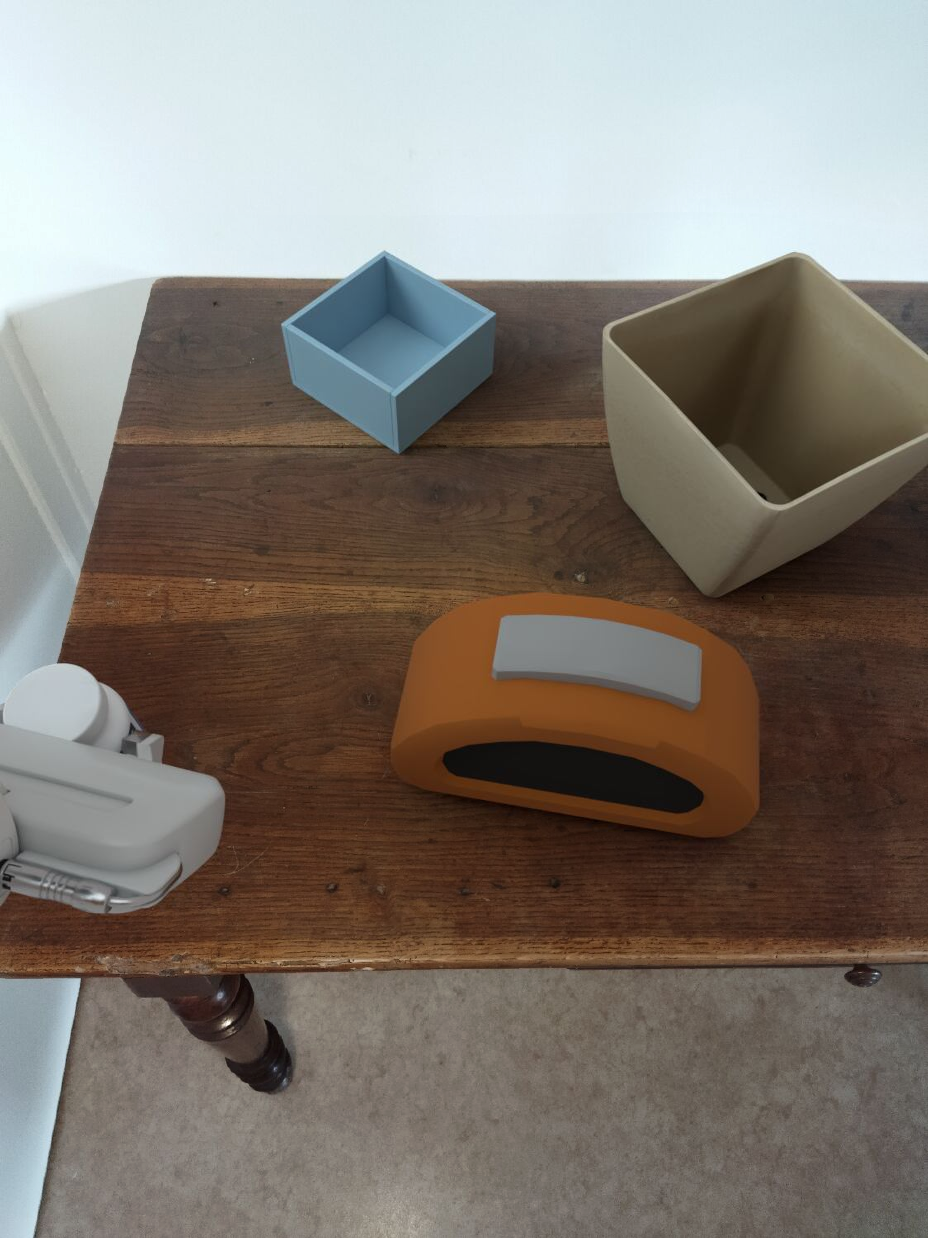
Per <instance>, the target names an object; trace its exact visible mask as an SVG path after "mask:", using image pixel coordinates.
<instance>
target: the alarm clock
mask: <svg viewBox="0 0 928 1238" xmlns="http://www.w3.org/2000/svg"><path fill="white" fill-rule="evenodd" d="M406 672H407V673H406V677H405V680H404V685H403V690H402V693H401V697H400V701H399V702H400V703H399V706H398V711H397V715H396V718H395V724H394V727H393V731H392V732H393V733H392V737H391V740H390V763H391V767H392V768H393V770H394V772H395V774H396V775H397V777H398V778H399V779H401V780H402V781H404V782H406V783H408V784H409V785H412V786H414V787H417V788H418V789H422V790H424V791H431V792H434V793H435V792H436V793H441V794H447V795H453V796H459V797H465V798H470V799H476V800H482V801H488V802H494V803H500V804H505V805H506V804H507V805H510V806H517V807H521V808H529V809H535V810H541V811H546V812H551V813H557V814H562V815H570V816H574V817H580V818H587V819H591V820H598V821H602V822H609V823H615V824H621V825H626V826H627V825H628V826H633V827H639V828H644V829H650V830H657V831H661V832H666V833H667V832H668V833H674V834H677V835H678V834H679V835H685V836H690V837H697V838H703V839H704V838H723V837H728V836H732V835H734V834H735V833H737V832H739V831H741V830H742V829H744V828H745V827H747V826H748V825H749V824H750V822H751V820H752V819H754V817H755V815H756V814H757V812H758V811H759V809H760V697H759V693H758V691H757V687H756V685H755V681H754V678H753V675H752V670H751V668H750V667H749V665H748V664H747V663H746V662H745V660H744V659H743V658H742V656H741V655H740V654H739V652H738V650H737V649H736V648H735V647H734V646H732V645H730V644H729V643H728V642H726V641H724V640H723V639H721V638H720V637H718V636H717V635H715V634H713V633H712V632H711V631H709V630H708V629H706V628H703V627H701V626H699V625H697V624H695V623H693V622H691V621H688V620H687V619H684V618H682V617H680V616H678V615H676V614H673V613H671V612H669V611H665V610H661V609H655V608H651V607H646V606H642V605H638V604H637V605H636V604H633V603H628V602H623V601H619V600H615V599H609V598H606V597H605V598H604V597H595V596H584V595H583V596H582V595H574V594H573V595H572V594H565V593H563V594H562V593H552V592H542V591H541V592H540V591H535V592H527V593H519V594H509V595H501V596H494V597H490V598H484V599H481V600H476V601H472V602H468V603H463V604H460V605H459V606H457V607H455V608H453V609H451V610H449V611H448V612H446V613H445V614H442V615H441V616H439V617H438V618H436V619H435V620H434V621H432V623H431V624H430V625H429V626H427V628H426V629H425V630H424V631H423V632H422V633H421V634H420V635H418V637H417V638H416V639H415V641H414V642H413V645H412V650H411V655H410V658H409V664H408V667H407V671H406Z"/></svg>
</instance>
